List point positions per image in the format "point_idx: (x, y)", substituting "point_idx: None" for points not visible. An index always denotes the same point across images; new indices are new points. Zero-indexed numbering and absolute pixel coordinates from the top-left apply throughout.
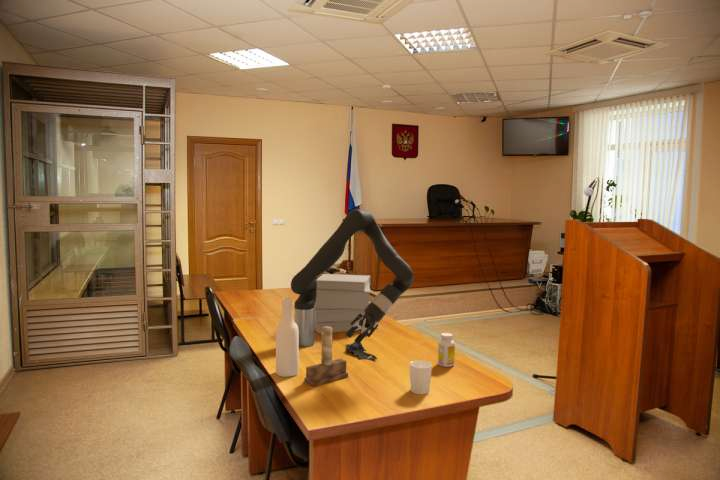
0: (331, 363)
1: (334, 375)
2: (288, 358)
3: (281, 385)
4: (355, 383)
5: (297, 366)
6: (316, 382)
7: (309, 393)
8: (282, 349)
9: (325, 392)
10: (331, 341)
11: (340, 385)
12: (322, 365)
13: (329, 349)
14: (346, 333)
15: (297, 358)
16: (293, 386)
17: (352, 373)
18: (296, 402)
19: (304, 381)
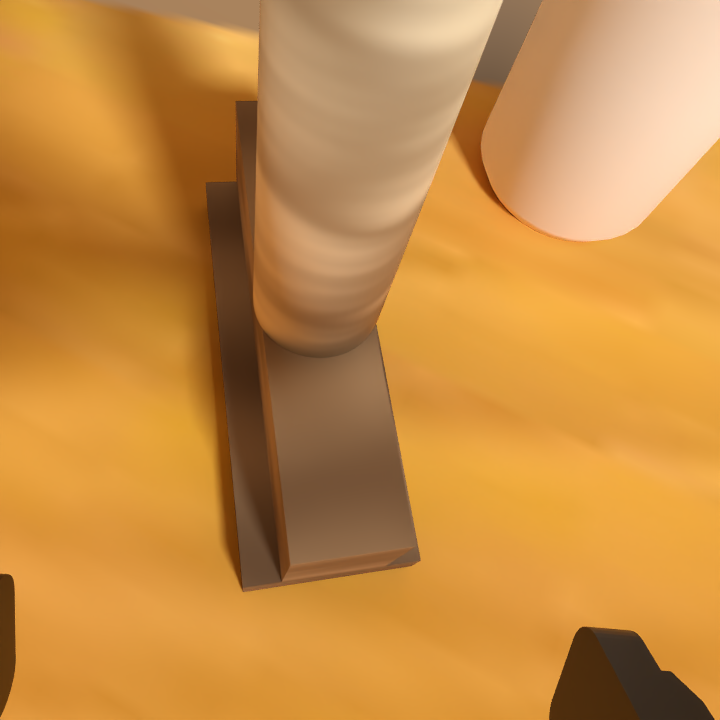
0: (266, 325)
1: (261, 420)
2: (538, 14)
3: None
4: (34, 576)
5: (531, 171)
6: (209, 218)
7: (101, 130)
8: None
9: (35, 230)
10: (277, 116)
11: (89, 410)
12: None
13: (256, 170)
14: (631, 643)
15: (564, 116)
16: None
17: (315, 697)
18: (15, 6)
19: None
